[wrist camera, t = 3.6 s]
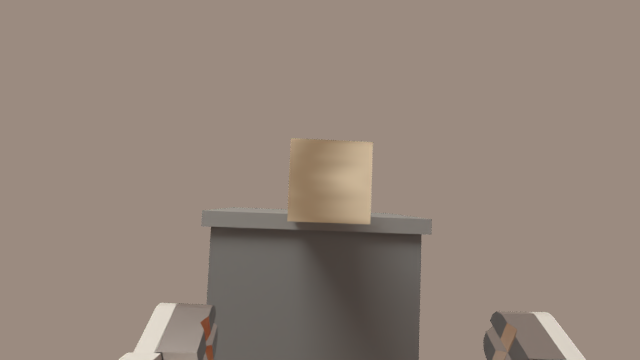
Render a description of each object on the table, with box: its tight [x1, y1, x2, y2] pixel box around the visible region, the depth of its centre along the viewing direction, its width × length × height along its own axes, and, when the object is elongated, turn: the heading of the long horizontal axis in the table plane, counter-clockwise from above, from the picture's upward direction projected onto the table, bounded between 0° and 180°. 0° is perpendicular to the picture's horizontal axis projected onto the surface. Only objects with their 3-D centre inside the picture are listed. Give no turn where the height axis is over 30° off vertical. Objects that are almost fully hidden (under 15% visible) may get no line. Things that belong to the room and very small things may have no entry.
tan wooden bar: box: [287, 138, 373, 224], centre depth 27 cm, size 4×23×4 cm, turn 3°
